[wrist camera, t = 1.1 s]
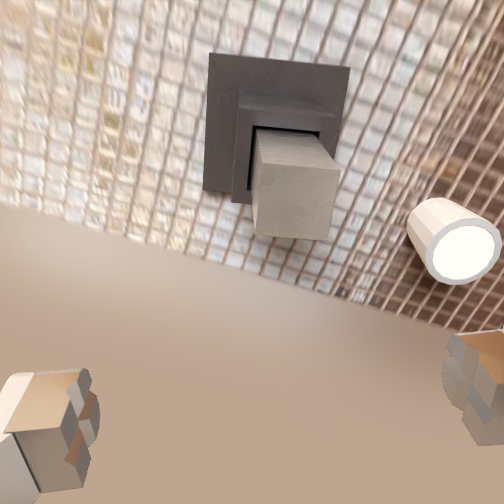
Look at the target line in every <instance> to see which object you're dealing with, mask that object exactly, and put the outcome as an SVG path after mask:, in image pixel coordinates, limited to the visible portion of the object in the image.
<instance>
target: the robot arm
mask: <svg viewBox="0 0 504 504" xmlns="http://www.w3.org/2000/svg"><path fill="white" fill-rule="evenodd" d="M447 349H448V350H449V352H450V353H451V356H450V357H449V358H448V359H447V360H446V361H445V362H444V363H443V368H442V381H443V387H444V390H445V392H446V395H447V397H448V398H449V400H450V402H451V403H452V404H453V405H454V406H456V407H457V408H459V409H460V410H462V411H464V413H463V418H462V421H463V423H464V424H465V426H466V428H467V429H468V431H469V432H470V434H471V436H472V437H473V439H474V440H475V442H476V444H477V445H478V446H488V445H500V444H501V445H502V444H504V325H503V329H497V330H490V331H480V332H470V333H459V334H452V336H451V337H450V338H449V341H448V345H447ZM91 382H92V380H91V377H90V374H89V371H88V370H87V369H85V368H77V369H63V370H49V371H38V372H26V373H15V374H13V375H12V376H10V377H9V378H8V380H7V382H6V384H5V385H4V387H3V389H2V391H1V392H0V504H34V503H35V502H36V501H37V500H38V498H39V497H40V493H47V492H54V491H61V490H69V489H77V488H83V485H84V482H85V479H86V475H87V471H88V467H89V464H90V460H91V457H90V453H89V450H88V447H89V446H90V445H91V444H92V443H93V442H94V441H95V440H96V438H97V434H98V430H99V422H100V410H99V403H98V399H97V396H96V395H95V394H93V393H92V392H91V391H89V389H90V385H91Z"/></svg>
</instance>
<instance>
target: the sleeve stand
mask: <svg viewBox="0 0 504 504" xmlns="http://www.w3.org/2000/svg"><path fill="white" fill-rule="evenodd" d="M349 73H350V67H347V66H339V65H330V64H320V63H311V62H301V61H292V60H282V59H273V58H263V57H254V56H244V55H235V54H225V53H216V52H210V53H209V69H208V89H207V110H206V131H205V151H204V172H203V190H207V191H219V192H230V193H232V200H231V202H232V203H244V204H252V194H251V182H250V169H249V158H250V147H251V137H252V126H253V125H257V126H267V127H278V128H289V129H299V130H310V131H312V132H313V133H314V135H315V136H316V137H317V139H318V140H319V142H320V143H321V144H322V146H323V147H324V148H325V150H326V151H327V152H328V154H329V155H330V156H331V158H332V159H333V160H334V155H335V150H336V144H337V139H338V133H339V128H340V122H341V117H342V112H343V106H344V101H345V95H346V90H347V84H348V79H349Z"/></svg>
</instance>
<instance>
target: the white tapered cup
mask: <svg viewBox="0 0 504 504" xmlns="http://www.w3.org/2000/svg"><path fill="white" fill-rule="evenodd" d="M406 230H407V233H408V236H409V238H410V240H411V242H412V244H413V245H414V247H415V249H416V251H417V252H418V254H419V256H420V258H421V259H422V261H423V263H424V265H425V266H426V268H427V270H428V272H429V273H430V274H431V275H432V276H433V277H434V278H435V279H436V280H437V281H439V282H442V283H446V284H449V285H459V284H466V283H469V282H471V281H474V280H476V279H479V278H480V277H482V276H483V275H484V274H485V273H487V272H488V271H489V270H490V269H491V268H492V267H493V265H494V264H495V262H496V261H497V259H498V258H499V256H500V251H501V246H502V241H501V237H500V233H499V231H498V229H497V228H496V227H495V226H494V225H493V224H492V223H491V222H489V221H487V220H486V219H484V218H482V217H480V216H478V215H477V214H475V213H473V212H471V211H469V210H467V209H466V208H464V207H462V206H460V205H458V204H456V203H455V202H453V201H451V200H448V199H445V198H431V199H428V200H426V201H424V202H422V203H420V204H419V205H418V206H417V207H416V208H415V209H413V210H412V212H411V214H410V216H409V218H408V220H407V227H406Z"/></svg>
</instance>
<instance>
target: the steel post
mask: <svg viewBox="0 0 504 504" xmlns="http://www.w3.org/2000/svg"><path fill="white" fill-rule="evenodd" d="M249 169H250V182H251V194H252V207H253V220H254V232H255V235H259V236H272V237H285V238H298V239H311V240H323V241H327V238H328V233H329V228H330V222H331V217H332V212H333V207H334V202H335V197H336V191H337V186H338V181H339V176H340V171H341V170H340V169H339V167H338V166H337V164H336V163H335V162H334V160H333V159H332V158H331V156H330V155H329V154H328V152H327V151H326V150H325V148H324V147H323V146H322V144H321V143H320V142H319V140H318V139H317V137H316V136H315V135H314V133H313V132H312V131H310V130H299V129H289V128H278V127H267V126H257V125H253V126H252V137H251V147H250V158H249Z"/></svg>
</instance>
